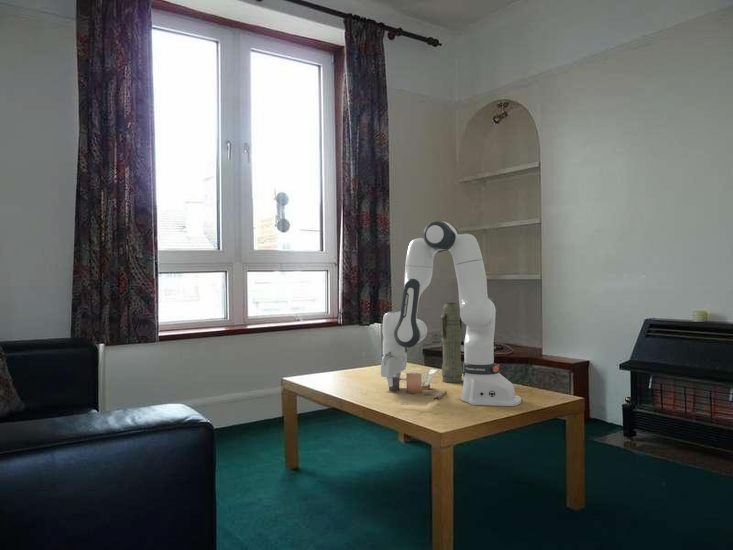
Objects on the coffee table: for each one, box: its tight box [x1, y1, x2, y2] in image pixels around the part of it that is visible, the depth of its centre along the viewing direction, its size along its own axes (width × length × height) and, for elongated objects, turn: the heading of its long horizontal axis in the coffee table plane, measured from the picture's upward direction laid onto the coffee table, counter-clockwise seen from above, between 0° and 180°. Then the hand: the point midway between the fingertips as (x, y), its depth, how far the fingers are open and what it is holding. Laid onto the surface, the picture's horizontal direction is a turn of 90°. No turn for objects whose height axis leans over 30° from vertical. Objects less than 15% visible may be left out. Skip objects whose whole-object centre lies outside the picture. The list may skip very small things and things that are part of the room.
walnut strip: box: [387, 377, 448, 401], centre depth 224 cm, size 22×10×6 cm, turn 66°
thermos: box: [439, 302, 463, 384], centre depth 251 cm, size 9×12×35 cm
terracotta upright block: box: [406, 372, 423, 393], centre depth 225 cm, size 6×6×7 cm
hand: (394, 384), depth 228 cm, fingers open, 5 cm apart
